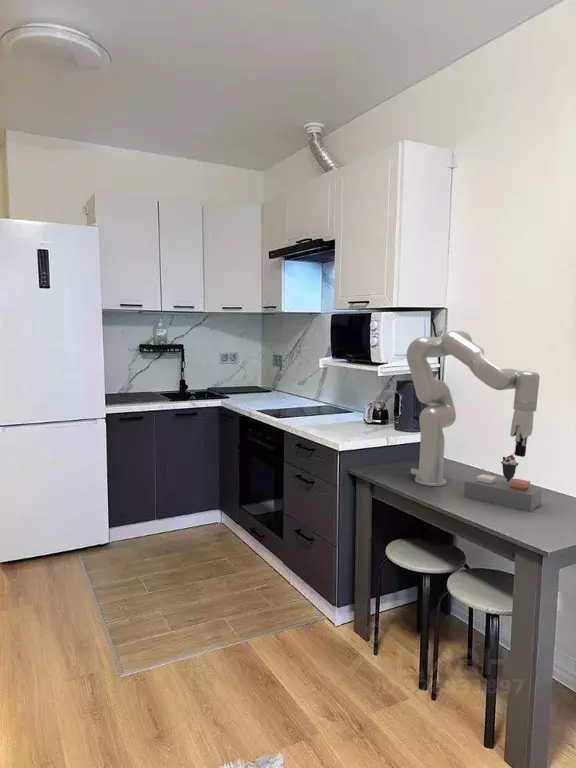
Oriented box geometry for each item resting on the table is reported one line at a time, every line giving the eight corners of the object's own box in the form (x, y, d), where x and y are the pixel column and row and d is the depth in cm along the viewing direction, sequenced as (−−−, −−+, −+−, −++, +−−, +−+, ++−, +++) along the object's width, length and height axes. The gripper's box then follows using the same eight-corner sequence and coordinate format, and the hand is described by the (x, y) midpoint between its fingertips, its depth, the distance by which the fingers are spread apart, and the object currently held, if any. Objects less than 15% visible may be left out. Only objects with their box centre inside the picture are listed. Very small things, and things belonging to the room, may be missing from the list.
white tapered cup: (475, 496, 202) (476, 476, 201) (481, 493, 206) (482, 474, 206) (490, 499, 199) (491, 479, 198) (495, 496, 203) (496, 476, 202)
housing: (463, 496, 202) (464, 481, 201) (476, 490, 211) (477, 475, 210) (530, 511, 186) (531, 495, 186) (540, 503, 195) (541, 488, 195)
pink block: (508, 501, 194) (509, 481, 194) (513, 497, 199) (514, 478, 198) (524, 504, 191) (525, 484, 190) (529, 501, 195) (530, 481, 194)
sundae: (518, 490, 212) (521, 453, 210) (500, 489, 213) (503, 452, 212) (515, 485, 218) (517, 449, 217) (497, 484, 219) (500, 448, 218)
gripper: (520, 402, 199) (515, 450, 201) (507, 406, 188) (502, 457, 190) (542, 405, 194) (537, 454, 197) (529, 409, 183) (524, 461, 185)
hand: (519, 455), depth 193 cm, fingers closed
